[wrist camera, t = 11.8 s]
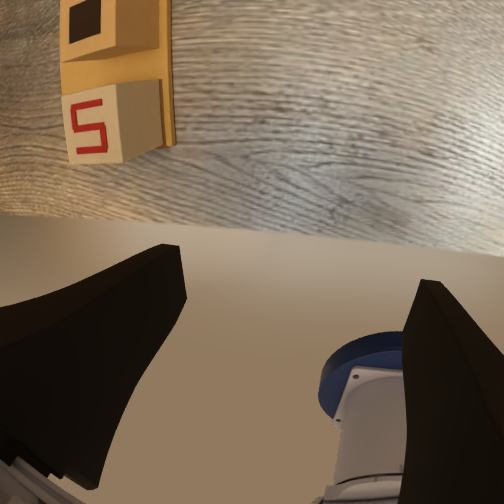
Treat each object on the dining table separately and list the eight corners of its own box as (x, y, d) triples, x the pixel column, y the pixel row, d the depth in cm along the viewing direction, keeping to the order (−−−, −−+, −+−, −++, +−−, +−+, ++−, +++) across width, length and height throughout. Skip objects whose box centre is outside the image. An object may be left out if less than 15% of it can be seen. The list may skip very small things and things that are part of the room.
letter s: (163, 144, 18) (121, 164, 14) (111, 146, 18) (68, 166, 15) (159, 78, 15) (113, 83, 12) (106, 87, 16) (58, 96, 13)
